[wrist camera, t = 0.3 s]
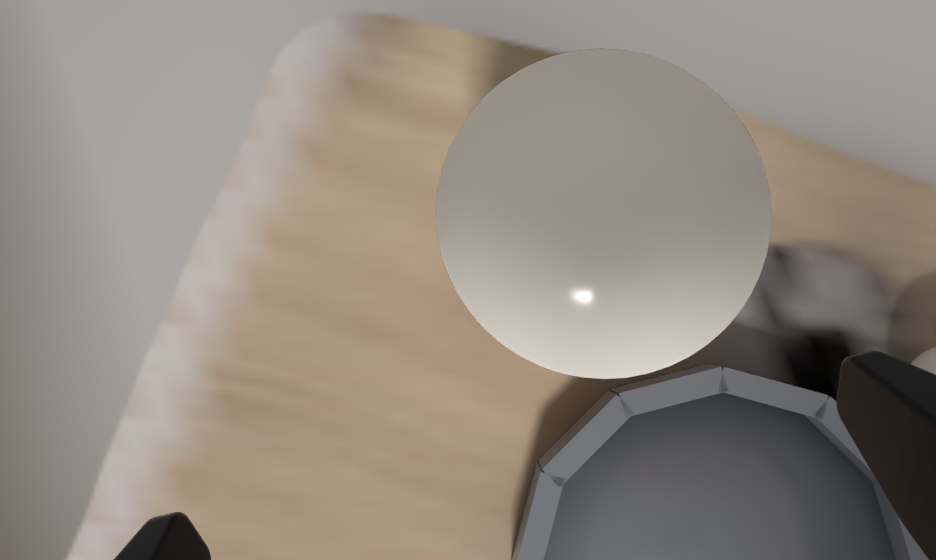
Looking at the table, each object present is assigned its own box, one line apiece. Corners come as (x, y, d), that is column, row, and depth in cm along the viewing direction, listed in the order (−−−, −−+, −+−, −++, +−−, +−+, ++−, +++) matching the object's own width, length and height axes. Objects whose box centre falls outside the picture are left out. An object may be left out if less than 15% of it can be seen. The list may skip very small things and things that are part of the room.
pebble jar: (655, 271, 23) (842, 211, 11) (542, 385, 23) (604, 450, 11) (542, 159, 23) (600, -17, 11) (429, 270, 23) (367, 210, 11)
